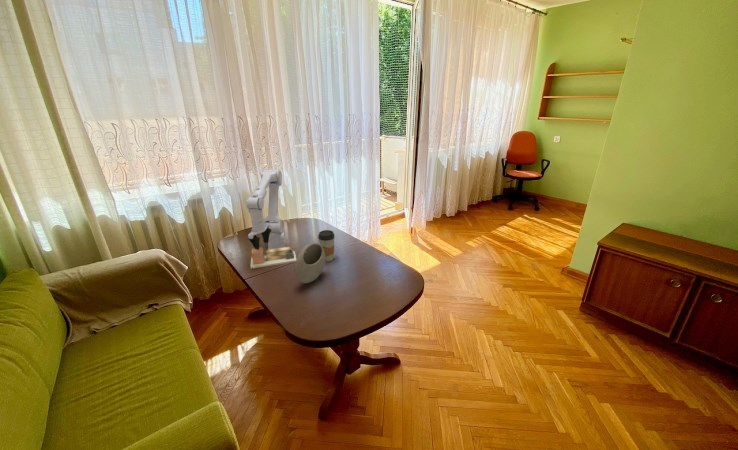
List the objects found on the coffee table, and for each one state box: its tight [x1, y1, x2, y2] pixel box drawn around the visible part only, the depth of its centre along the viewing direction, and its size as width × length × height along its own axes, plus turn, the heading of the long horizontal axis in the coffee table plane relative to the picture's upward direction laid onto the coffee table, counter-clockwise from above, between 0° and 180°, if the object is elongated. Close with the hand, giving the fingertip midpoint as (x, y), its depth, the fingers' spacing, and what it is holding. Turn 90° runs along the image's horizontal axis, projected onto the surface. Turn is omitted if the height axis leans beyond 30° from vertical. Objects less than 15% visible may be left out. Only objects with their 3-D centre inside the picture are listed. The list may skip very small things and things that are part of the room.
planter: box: [294, 242, 326, 284], centre depth 134 cm, size 18×7×19 cm, turn 148°
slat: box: [265, 246, 291, 261], centre depth 154 cm, size 12×3×5 cm, turn 108°
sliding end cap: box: [251, 247, 265, 264], centre depth 151 cm, size 5×6×6 cm
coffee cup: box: [317, 229, 335, 263], centre depth 154 cm, size 8×8×15 cm
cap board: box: [250, 248, 297, 269], centre depth 154 cm, size 22×10×4 cm, turn 108°
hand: (261, 245), depth 150 cm, fingers open, 7 cm apart
